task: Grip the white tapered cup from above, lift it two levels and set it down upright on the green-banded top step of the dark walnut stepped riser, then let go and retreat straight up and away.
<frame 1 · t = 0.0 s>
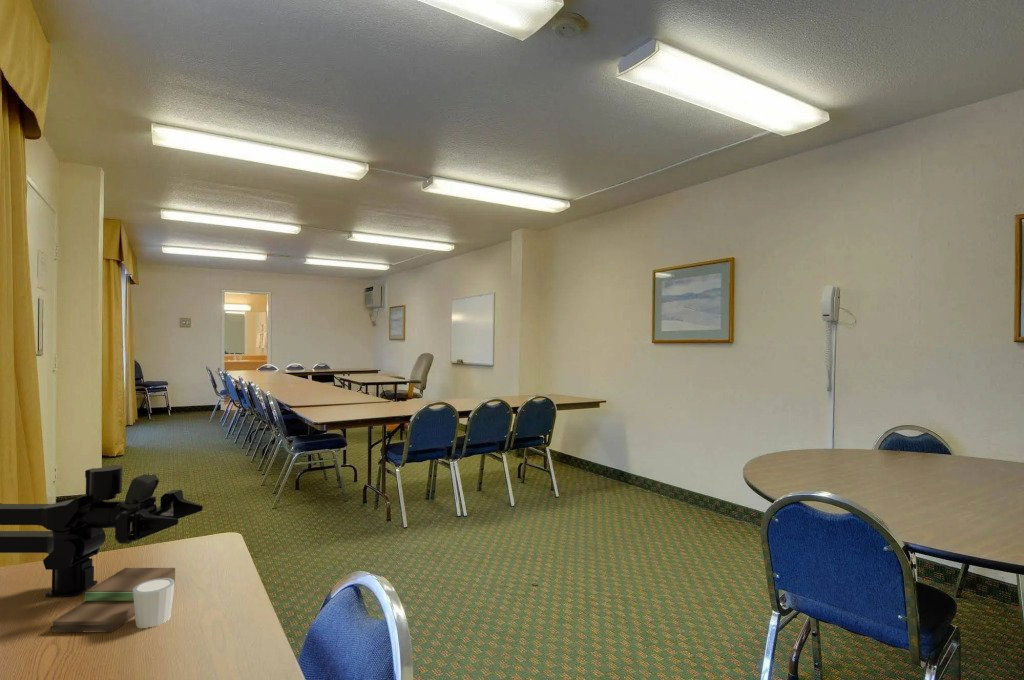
hand: (190, 514, 115), 17 cm above the table, tool horizontal, fingers open, 9 cm apart
white tapered cup: (153, 621, 102), on the table
stepped riser: (119, 606, 107), on the table
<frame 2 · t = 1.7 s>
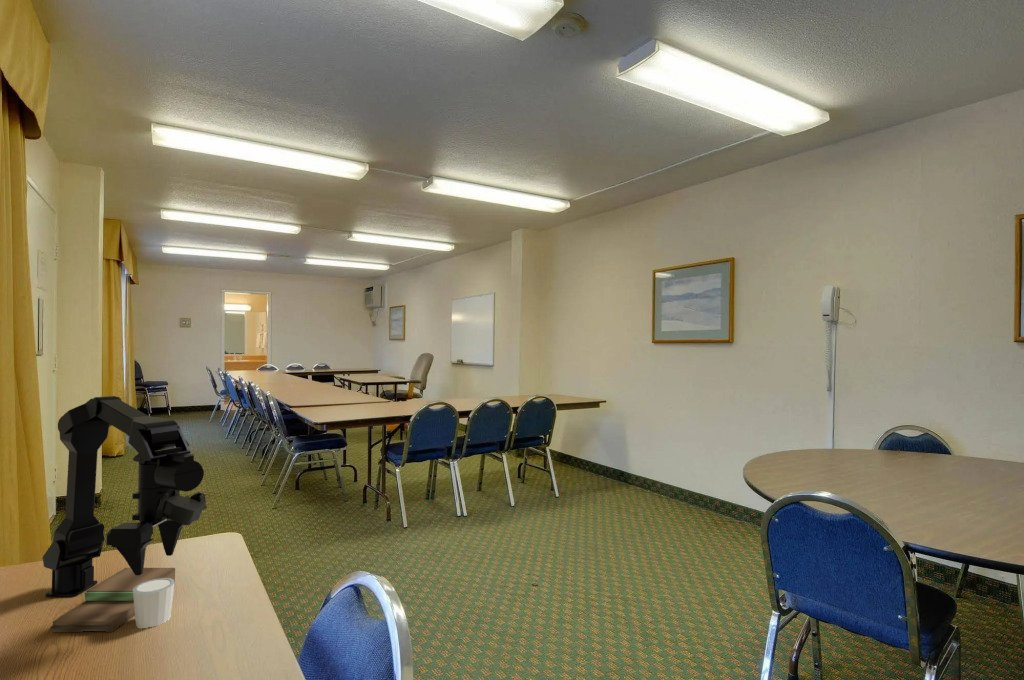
hand: (154, 564, 102), 11 cm above the table, tool pointing down, fingers open, 9 cm apart
nothing on the table moved.
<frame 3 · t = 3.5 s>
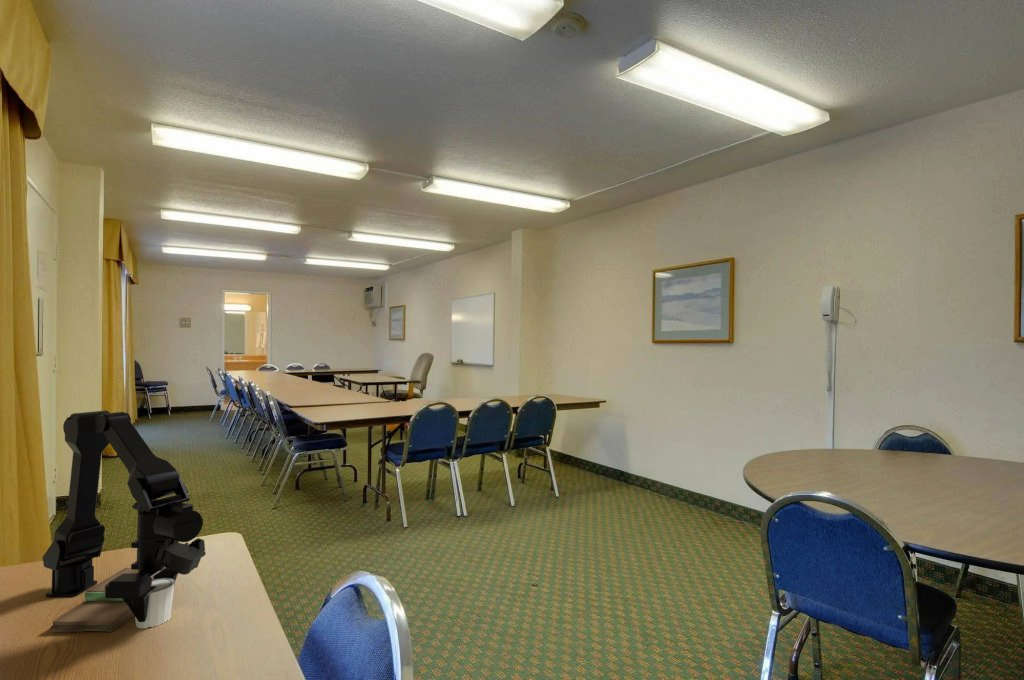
hand: (153, 612, 102), 2 cm above the table, tool pointing down, fingers closed on white tapered cup, 6 cm apart
white tapered cup: (153, 621, 102), on the table, touching gripper
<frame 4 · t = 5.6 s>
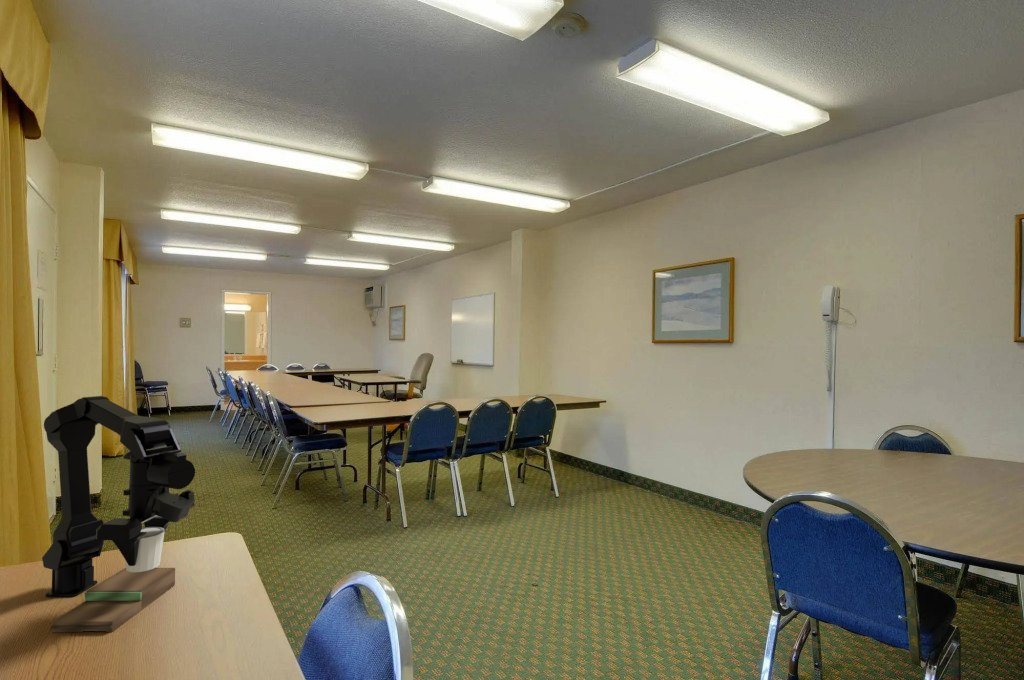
hand: (143, 558, 106), 10 cm above the table, tool pointing down, fingers closed on white tapered cup, 6 cm apart
white tapered cup: (143, 567, 106), point 9 cm above the table, touching gripper
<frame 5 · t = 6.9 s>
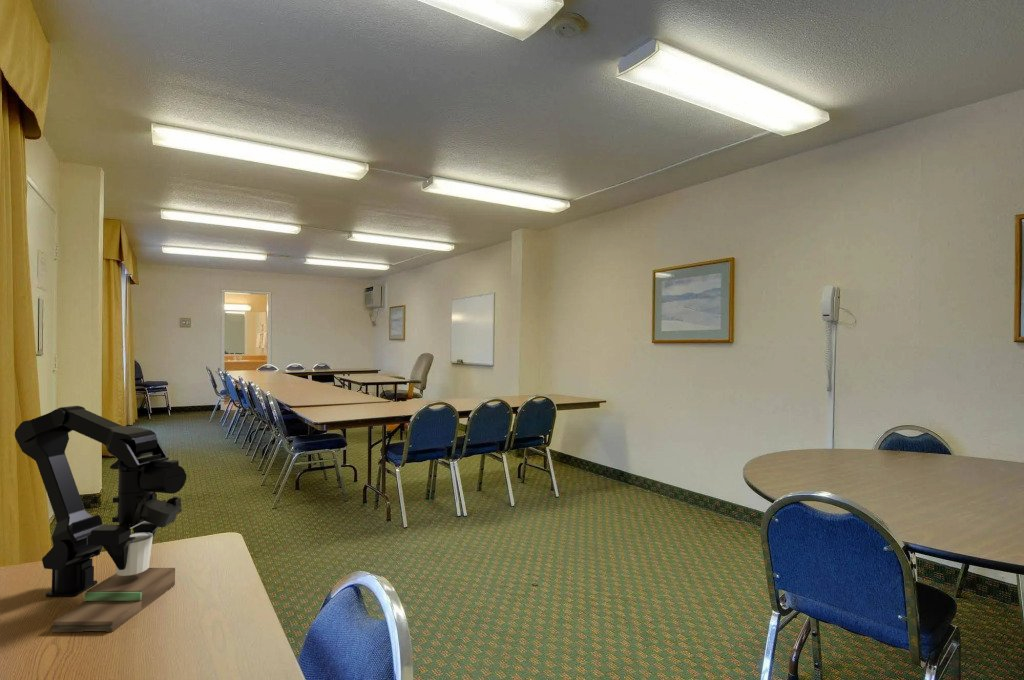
hand: (132, 563, 111), 7 cm above the table, tool pointing down, fingers closed on white tapered cup, 6 cm apart
white tapered cup: (132, 570, 111), point 6 cm above the table, touching gripper
when the fingers open (6 cm above the table, at t = 8.0 s): white tapered cup stays where it is, resting on stepped riser.
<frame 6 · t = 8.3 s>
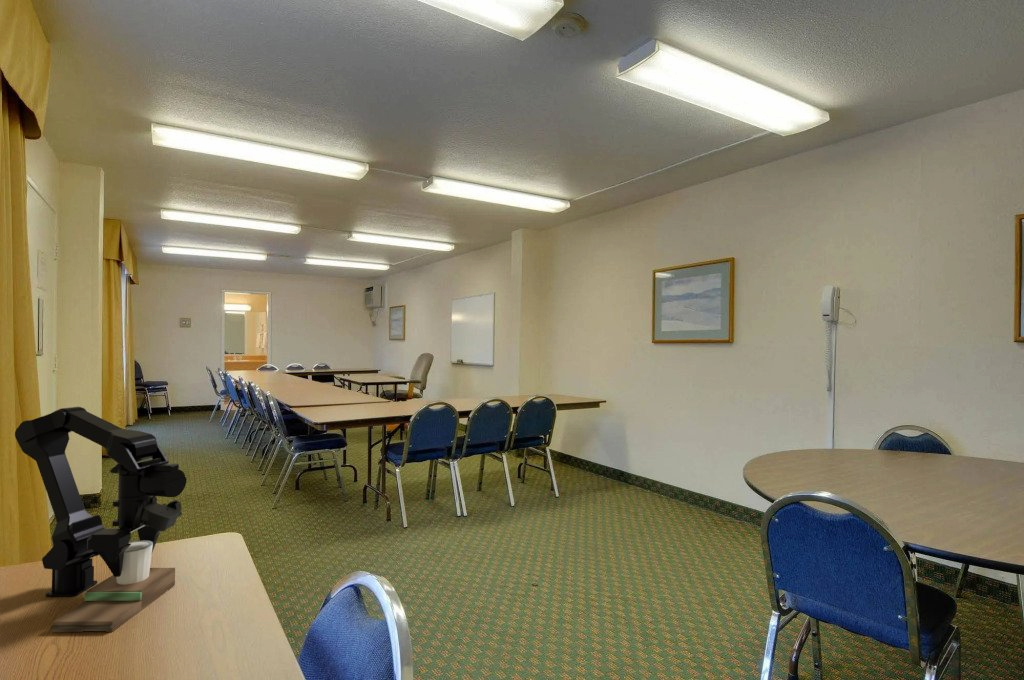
hand: (133, 567, 111), 6 cm above the table, tool pointing down, fingers open, 9 cm apart
white tapered cup: (133, 579, 111), point 4 cm above the table, touching stepped riser
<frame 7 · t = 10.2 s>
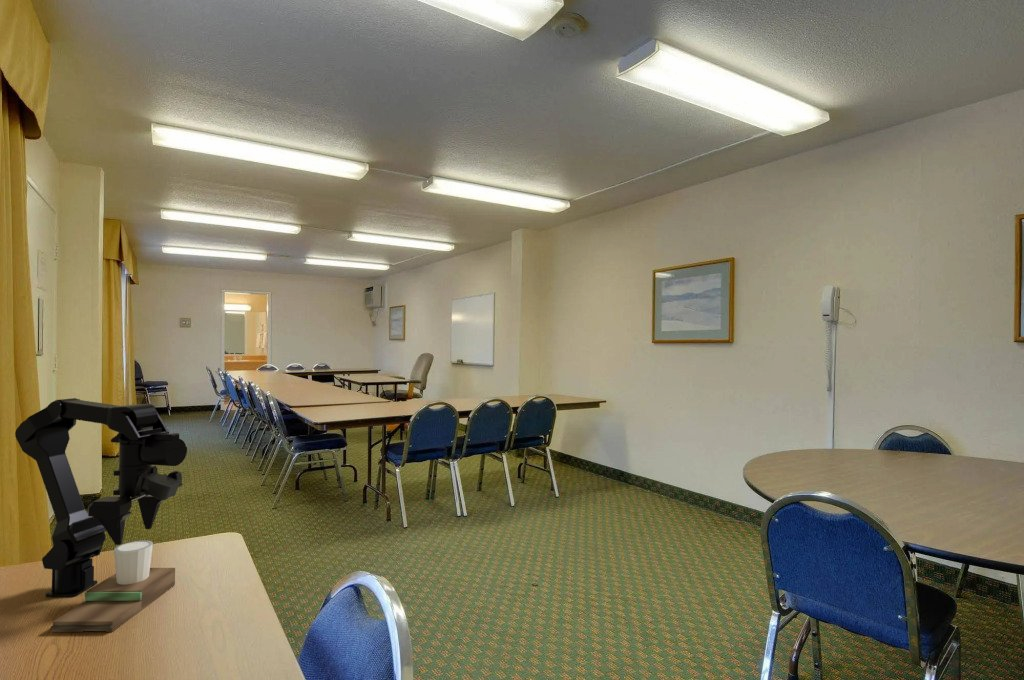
hand: (134, 536, 111), 13 cm above the table, tool pointing down, fingers open, 9 cm apart
nothing on the table moved.
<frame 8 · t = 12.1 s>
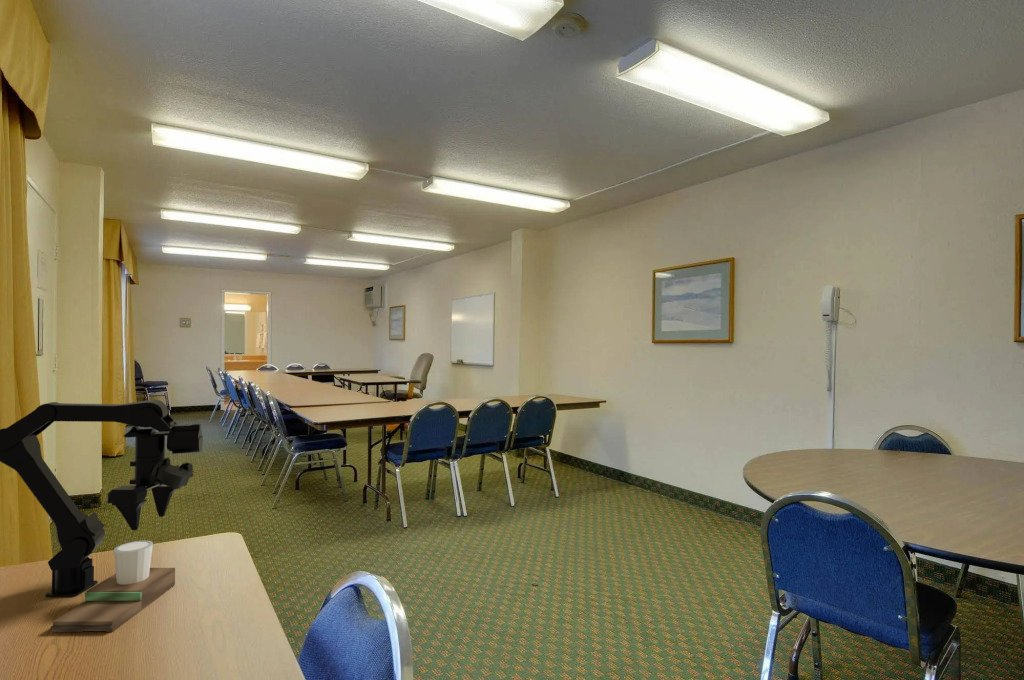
hand: (148, 523, 120), 13 cm above the table, tool pointing down, fingers open, 9 cm apart
nothing on the table moved.
at the end: white tapered cup inside the target area (0.1 cm from its centre), point 3.8 cm above the table; white tapered cup tilted 0°; the gripper is holding nothing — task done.
